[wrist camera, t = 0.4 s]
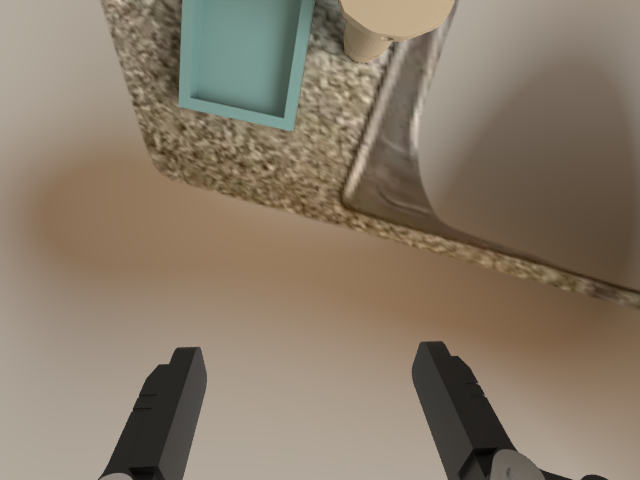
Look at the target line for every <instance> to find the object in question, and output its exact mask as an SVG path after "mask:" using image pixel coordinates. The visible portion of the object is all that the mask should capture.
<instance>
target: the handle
mask: <svg viewBox="0 0 640 480" xmlns="http://www.w3.org/2000/svg"><path fill="white" fill-rule="evenodd" d="M454 1H455V0H338V3H339V7H340V11H341V13H342V15H343V18H344V19H346V20H347V22H346V25H345V29H344V52H345V54H346V55H348V56H349V57H350V58H351V59H352V60H354V63H356V64H363V63H364V62H369V61H372V60H374V59H375V58H377V57H378V56H380V55H381V54H382V53H383V52H384V51H385V50H386V49H387V48H388V47H389V45H390V44H391V42H392V41H404V40H408V39H411V38H414V37H417V36H419V35H422V34H424V33H427V32H429V31H431V30H434V29H435V28H437V27H438V26H439V25H441V23H442V22H443V21H444V20H445V18H446V17H447V15H448V14H449V12H450V11H451V8H452V6H453V4H454Z"/></svg>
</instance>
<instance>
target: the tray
mask: <svg viewBox="0 0 640 480" xmlns="http://www.w3.org/2000/svg"><path fill="white" fill-rule="evenodd" d="M315 2H316V0H182V22H181V49H180V76H179V104H178V107H183V108H187V109H192V110H197V111H201V112H206V113H210V114H215V115H220V116H224V117H229V118H233V119H238V120H243V121H247V122H252V123H257V124H261V125H266V126H270V127H275V128H280V129H284V130H289V131H294V129H295V123H296V117H297V111H298V105H299V99H300V93H301V87H302V81H303V74H304V68H305V62H306V56H307V50H308V44H309V38H310V32H311V26H312V20H313V14H314V8H315Z"/></svg>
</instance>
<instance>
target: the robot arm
mask: <svg viewBox="0 0 640 480" xmlns="http://www.w3.org/2000/svg"><path fill="white" fill-rule="evenodd" d="M412 378H413V383H414V386H415V389H416V391H417V394H418V397H419V400H420V403H421V405H422V408H423V411H424V414H425V416H426V419H427V422H428V425H429V428H430V430H431V433H432V436H433V439H434V441H435V444H436V447H437V450H438V452H439V455H440V458H441V461H442V464H443V466H444V469H445V472H446V475H447V478H448V480H572V479H569V478H565V477H562V476H559V475H555V474H552V473H549V472H546V471H543V470H541V469H539V468H538V467H537V466H536V465H535V464H534V463H533V462H532V461H531V460H530V459H528V458H527V457H526V456H524V455H523V454H521V453H519V452H518V451H517V450H516V449H515V447H514V446H513V444H512V443H511V441H510V439H509V437H508V436H507V434H506V432H505V430H504V428H503V427H502V425H501V423H500V421H499V419H498V417H497V416H496V414H495V412H494V410H493V409H492V407H491V405H490V403H489V401H488V399H487V398H486V397H485V396H484V392H483V390H482V389H481V387H480V385H478V381H477V380H476V378H475V376H474V374H473V373H472V371H471V369H470V368H469V367H468V366H467V365H466V364H465V363H464V362H463V361H462V360H461V359H460V358H459V357H458V356H451V355H450V353H449V351H448V349H447V347H446V345H445V344H444V343H443V342H442V341H429V342H421V343H420V344H419V348H418V351H417V354H416V357H415V360H414V363H413V366H412ZM206 383H207V373H206V369H205V364H204V360H203V356H202V351H201V348H200V347H181V348H179V347H178V348H176V349H175V351H174V353H173V356H172V358H171V361H170V363H169V364H165V365H164V364H162V365H158V366H157V367H156V368H155V370H154V371H153V372H152V373H151V374H150V375H149V376H148V377H147V379H146V380H145V383H144V385H143V387H142V390H141V392H140V394H139V398H138V399H137V401H136V403H135V405H134V407H133V412H131V414H130V416H129V418H128V421H127V423H126V425H125V428H124V430H123V432H122V434H121V436H120V438H119V441H118V443H117V445H116V447H115V450H114V452H113V454H112V456H111V459H110V461H109V463H108V465H107V467H106V469H105V471H104V472H103V474H102V475H101V477H100V478H99V479H98V480H182V479H183V476H184V472H185V468H186V464H187V460H188V456H189V452H190V448H191V445H192V440H193V437H194V433H195V429H196V425H197V421H198V417H199V414H200V410H201V406H202V402H203V398H204V394H205V390H206ZM581 480H608V479H606V478H603V477H601V476H598V475H586V476H584V477H583V478H582V479H581Z"/></svg>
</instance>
